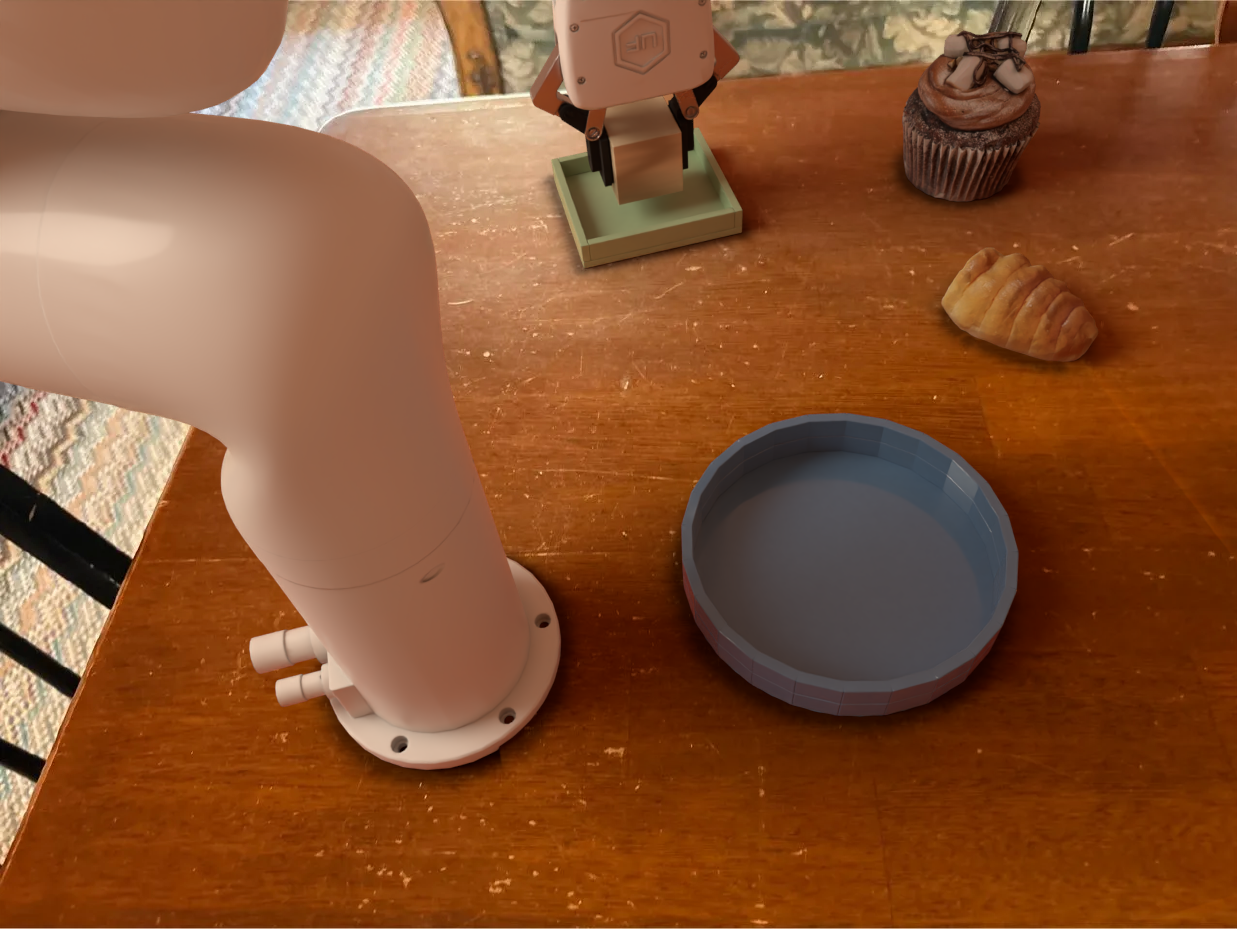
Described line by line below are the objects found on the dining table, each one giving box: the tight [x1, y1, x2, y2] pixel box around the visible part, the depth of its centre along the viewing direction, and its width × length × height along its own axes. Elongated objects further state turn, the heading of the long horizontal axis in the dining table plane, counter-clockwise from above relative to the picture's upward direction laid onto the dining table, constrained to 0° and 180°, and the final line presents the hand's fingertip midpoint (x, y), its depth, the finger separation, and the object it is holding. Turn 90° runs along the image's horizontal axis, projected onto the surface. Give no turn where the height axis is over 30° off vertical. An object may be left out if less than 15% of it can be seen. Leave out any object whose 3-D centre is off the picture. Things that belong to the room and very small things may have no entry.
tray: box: [550, 126, 744, 269], centre depth 72 cm, size 12×11×2 cm
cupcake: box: [901, 30, 1042, 202], centre depth 69 cm, size 10×10×10 cm
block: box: [604, 96, 683, 205], centre depth 69 cm, size 5×5×5 cm
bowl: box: [680, 412, 1020, 717], centre depth 51 cm, size 17×17×4 cm
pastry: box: [941, 246, 1099, 363], centre depth 61 cm, size 9×7×4 cm
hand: (641, 165), depth 70 cm, fingers closed on block, 5 cm apart
